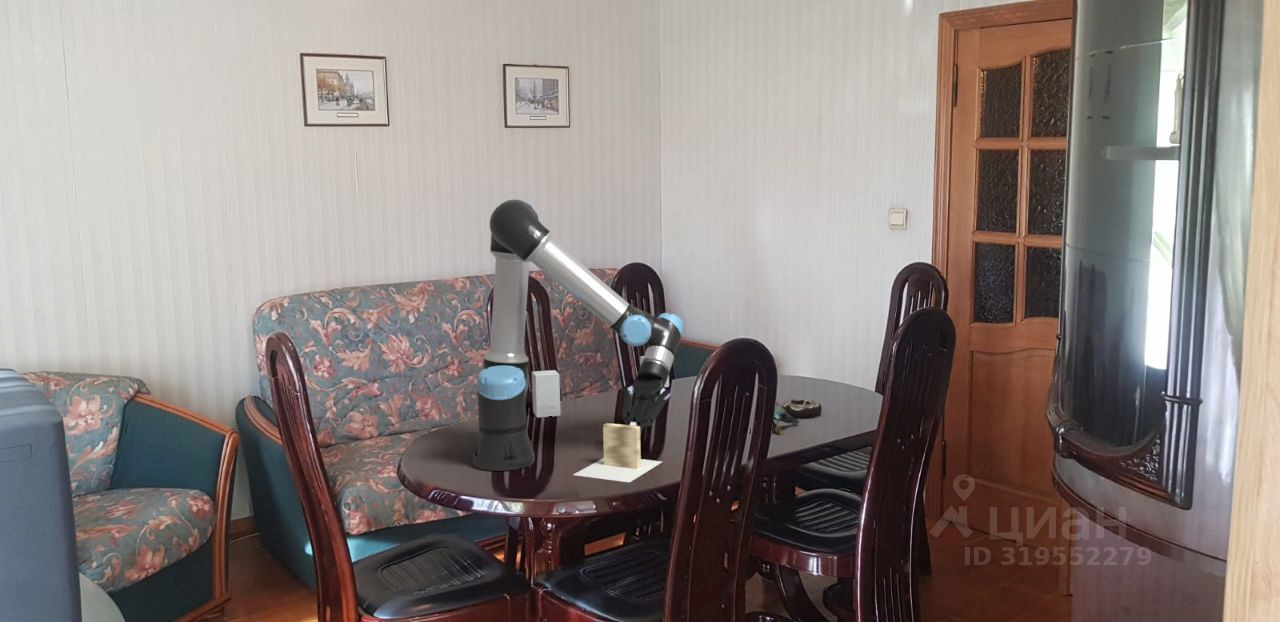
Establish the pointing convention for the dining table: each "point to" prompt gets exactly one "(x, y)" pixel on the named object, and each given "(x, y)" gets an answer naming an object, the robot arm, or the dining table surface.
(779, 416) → the bird figurine
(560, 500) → the dining table surface
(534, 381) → the supplement box
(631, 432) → the birch slab
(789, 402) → the donut
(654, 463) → the rubber mat
